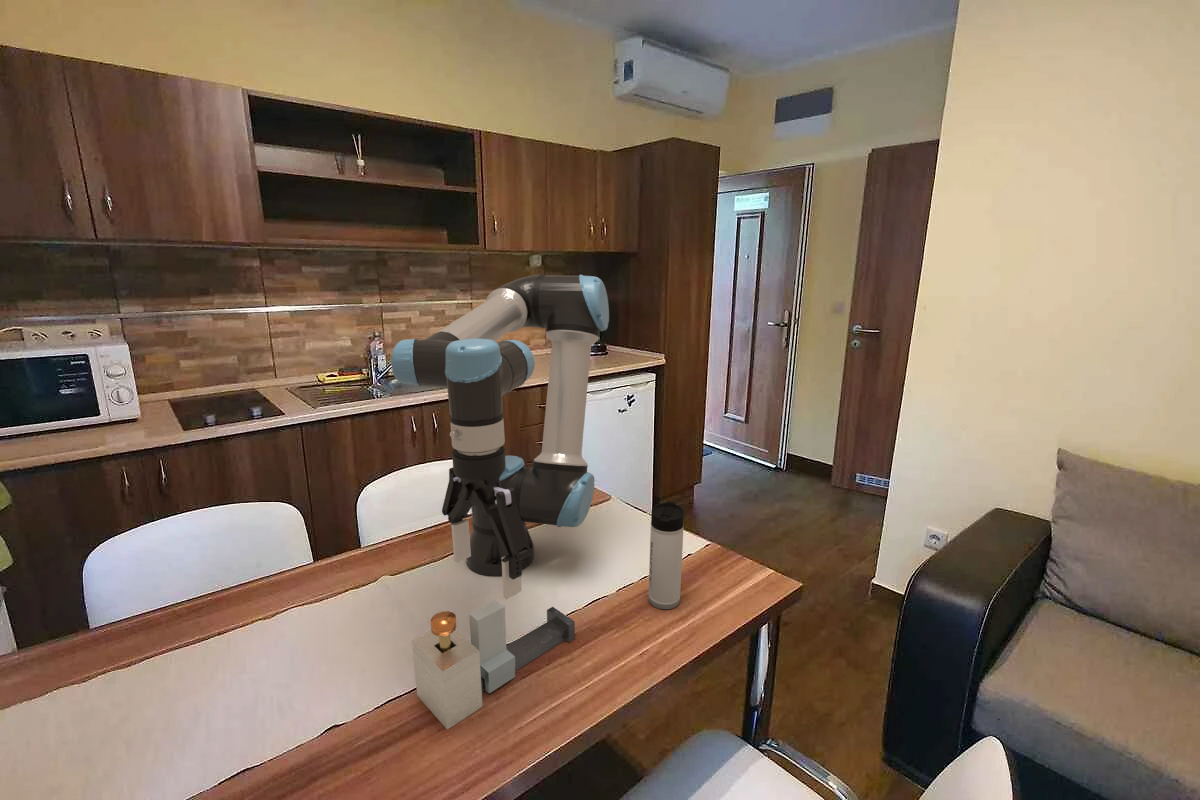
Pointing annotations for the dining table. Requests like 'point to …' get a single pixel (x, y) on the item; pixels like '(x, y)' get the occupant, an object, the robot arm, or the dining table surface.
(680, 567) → the travel mug
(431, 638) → the rail
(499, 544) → the robot arm
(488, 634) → the carriage
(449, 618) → the knob
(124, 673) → the dining table surface
